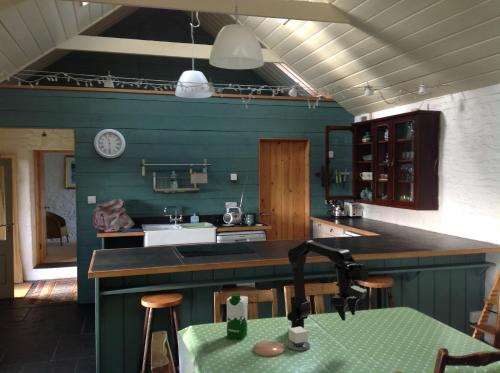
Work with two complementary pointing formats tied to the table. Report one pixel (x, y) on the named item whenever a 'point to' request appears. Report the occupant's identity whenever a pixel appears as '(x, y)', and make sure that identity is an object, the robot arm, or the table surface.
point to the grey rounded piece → (298, 346)
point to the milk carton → (237, 317)
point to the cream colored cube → (298, 334)
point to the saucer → (269, 348)
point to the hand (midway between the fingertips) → (348, 317)
